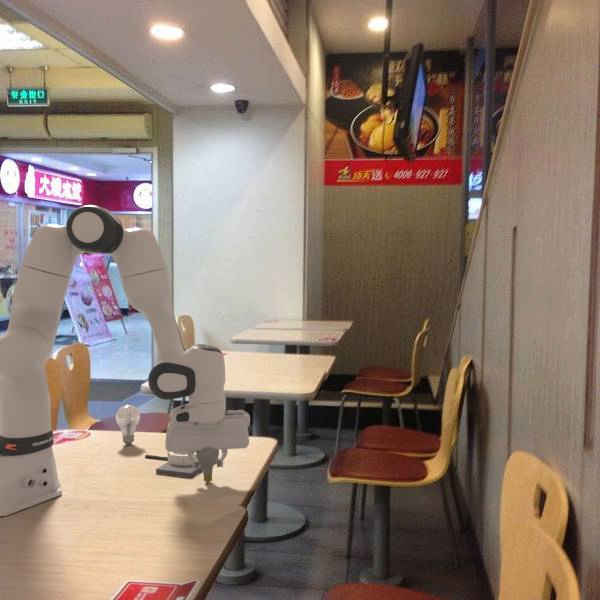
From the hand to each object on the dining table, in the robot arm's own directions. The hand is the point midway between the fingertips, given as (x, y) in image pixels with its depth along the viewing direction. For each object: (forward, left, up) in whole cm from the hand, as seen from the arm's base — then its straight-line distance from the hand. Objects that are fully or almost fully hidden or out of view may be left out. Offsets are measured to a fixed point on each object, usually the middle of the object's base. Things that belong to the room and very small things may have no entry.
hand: (207, 467), depth 152 cm
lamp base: (+9, +16, -4) cm, 19 cm away
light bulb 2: (0, 0, -4) cm, 4 cm away
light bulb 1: (+21, +38, -4) cm, 44 cm away
